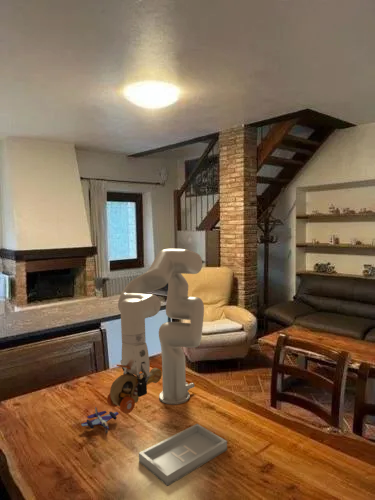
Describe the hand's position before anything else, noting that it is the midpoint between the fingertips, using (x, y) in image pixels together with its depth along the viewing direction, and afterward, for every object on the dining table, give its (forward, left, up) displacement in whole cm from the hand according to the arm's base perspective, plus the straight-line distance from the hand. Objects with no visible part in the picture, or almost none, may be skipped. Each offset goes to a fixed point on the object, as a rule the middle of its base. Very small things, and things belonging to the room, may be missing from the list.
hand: (135, 390), depth 122 cm
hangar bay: (-8, +15, -19) cm, 25 cm away
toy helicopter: (0, 0, -4) cm, 4 cm away
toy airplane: (+3, -17, -19) cm, 26 cm away
